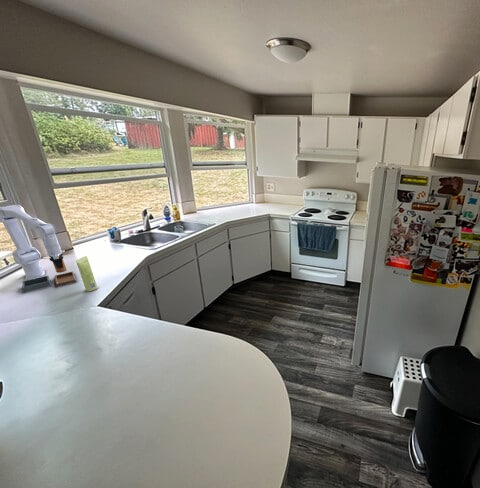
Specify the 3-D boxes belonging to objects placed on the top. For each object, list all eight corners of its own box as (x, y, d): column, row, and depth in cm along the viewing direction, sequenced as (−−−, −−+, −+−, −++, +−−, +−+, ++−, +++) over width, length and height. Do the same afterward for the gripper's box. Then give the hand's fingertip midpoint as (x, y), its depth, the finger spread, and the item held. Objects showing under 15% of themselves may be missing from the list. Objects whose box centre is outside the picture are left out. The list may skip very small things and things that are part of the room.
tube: (85, 289, 143) (74, 257, 136) (96, 285, 147) (86, 255, 140) (87, 292, 140) (75, 260, 133) (98, 289, 143) (88, 258, 136)
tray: (55, 278, 154) (54, 275, 153) (74, 274, 159) (73, 271, 159) (57, 287, 144) (55, 284, 143) (76, 282, 150) (75, 279, 149)
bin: (24, 286, 144) (22, 281, 143) (50, 280, 151) (48, 275, 150) (24, 293, 137) (21, 287, 136) (51, 286, 145) (48, 281, 143)
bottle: (56, 271, 149) (50, 255, 146) (66, 268, 152) (60, 253, 149) (56, 273, 146) (50, 257, 143) (67, 271, 149) (61, 255, 146)
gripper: (62, 246, 142) (70, 268, 146) (61, 240, 151) (68, 261, 156) (44, 250, 137) (53, 272, 142) (44, 243, 146) (52, 264, 151)
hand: (60, 266), depth 148 cm, fingers closed on bottle, 4 cm apart
